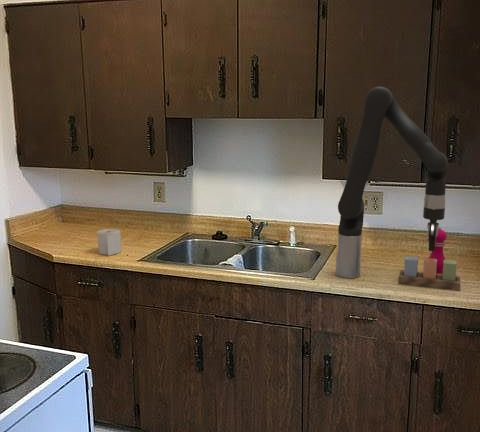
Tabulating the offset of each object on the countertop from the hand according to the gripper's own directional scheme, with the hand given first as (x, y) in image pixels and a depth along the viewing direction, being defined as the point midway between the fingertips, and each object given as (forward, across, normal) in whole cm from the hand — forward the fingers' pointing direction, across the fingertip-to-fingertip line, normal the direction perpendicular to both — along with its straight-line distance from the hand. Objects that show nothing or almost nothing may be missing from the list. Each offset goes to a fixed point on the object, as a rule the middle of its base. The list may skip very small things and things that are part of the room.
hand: (431, 250), depth 206 cm
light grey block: (+13, +5, -142) cm, 143 cm away
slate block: (+11, 0, -7) cm, 13 cm away
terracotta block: (+11, 0, 0) cm, 11 cm away
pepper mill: (+14, -14, +2) cm, 20 cm away
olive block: (+11, 0, +7) cm, 13 cm away
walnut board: (+13, 0, 0) cm, 13 cm away
